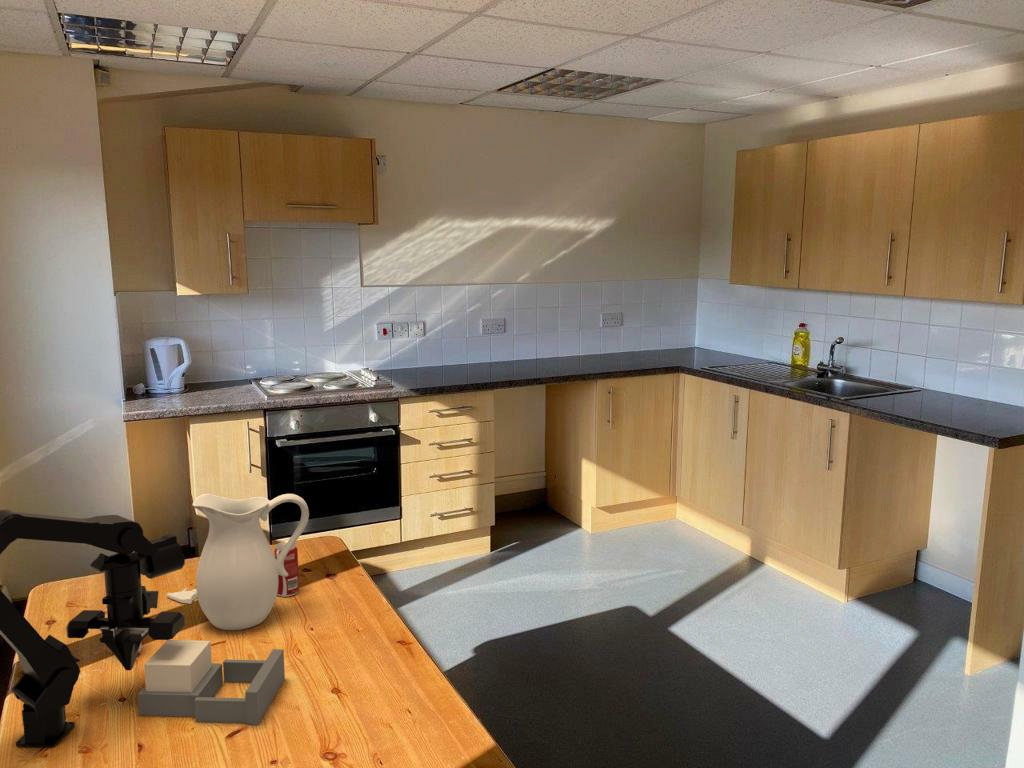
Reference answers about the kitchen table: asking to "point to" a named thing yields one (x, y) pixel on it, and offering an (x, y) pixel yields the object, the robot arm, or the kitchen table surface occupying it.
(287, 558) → the soda can
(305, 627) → the kitchen table surface
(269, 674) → the stand
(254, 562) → the pitcher
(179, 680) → the carton
